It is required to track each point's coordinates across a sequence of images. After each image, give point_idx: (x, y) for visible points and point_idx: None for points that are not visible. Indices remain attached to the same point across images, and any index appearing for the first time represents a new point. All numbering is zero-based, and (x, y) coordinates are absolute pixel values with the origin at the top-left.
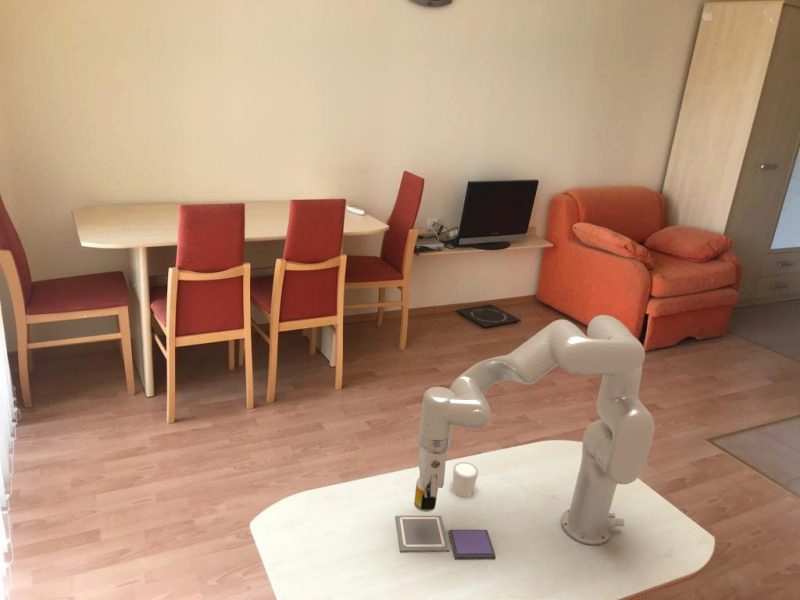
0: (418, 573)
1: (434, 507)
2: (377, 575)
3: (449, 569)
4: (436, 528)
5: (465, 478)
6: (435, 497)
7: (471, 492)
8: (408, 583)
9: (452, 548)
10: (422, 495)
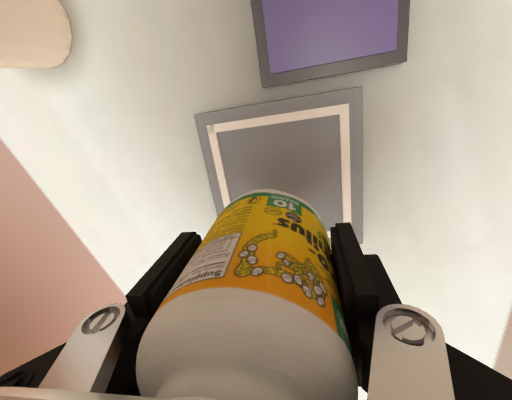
0: (454, 193)
1: (299, 201)
2: (446, 294)
3: (450, 86)
4: (258, 133)
5: None
6: (432, 320)
7: None
8: (492, 222)
9: (347, 72)
10: (358, 378)
